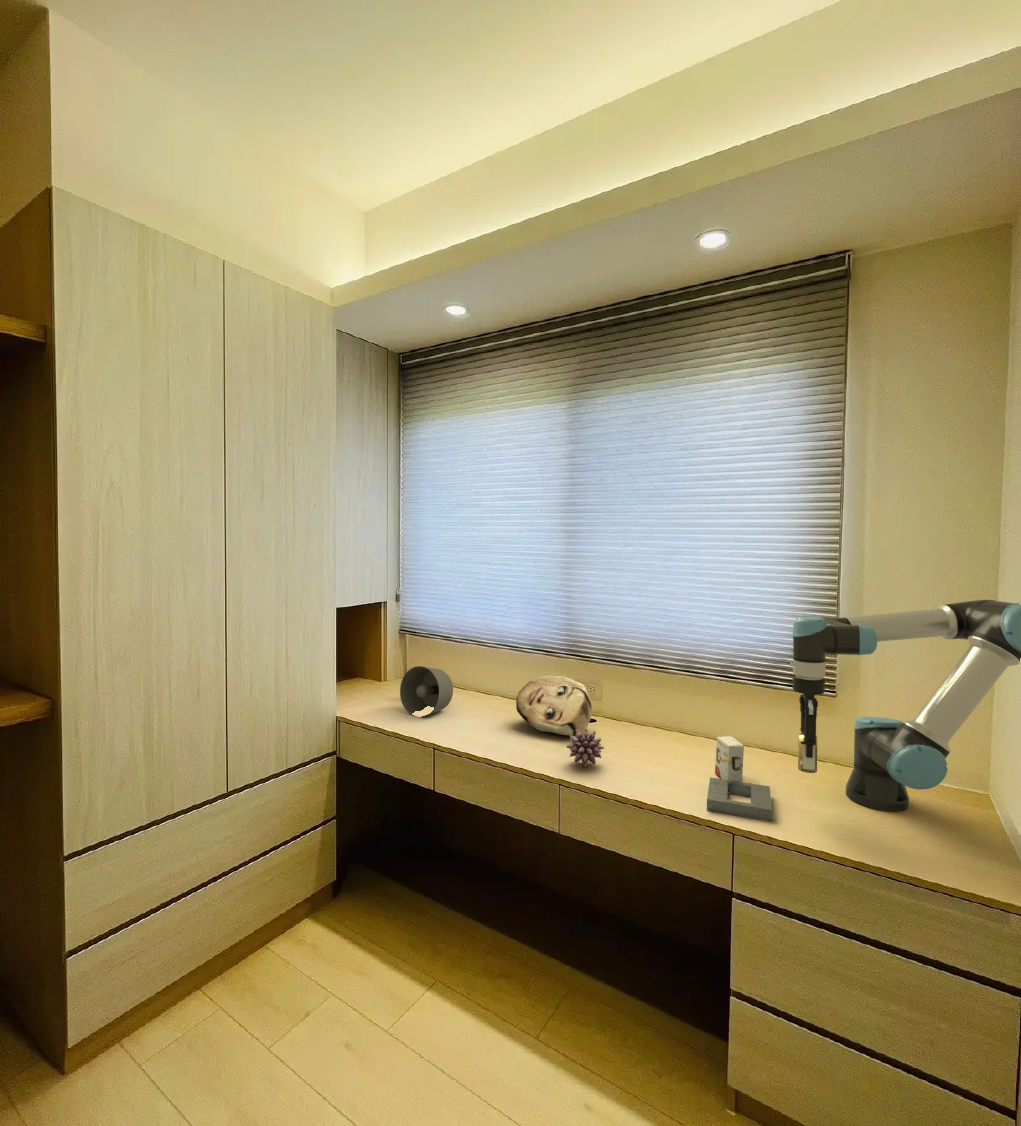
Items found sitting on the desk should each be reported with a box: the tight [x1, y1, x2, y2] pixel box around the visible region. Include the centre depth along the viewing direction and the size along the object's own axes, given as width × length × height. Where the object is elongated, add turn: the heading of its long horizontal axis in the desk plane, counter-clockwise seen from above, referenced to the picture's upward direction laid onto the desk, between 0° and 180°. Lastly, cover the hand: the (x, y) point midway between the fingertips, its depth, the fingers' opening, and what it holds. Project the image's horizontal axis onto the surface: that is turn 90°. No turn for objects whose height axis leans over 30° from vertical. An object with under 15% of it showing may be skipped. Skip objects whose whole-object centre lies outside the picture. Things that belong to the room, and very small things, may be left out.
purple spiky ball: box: [566, 727, 605, 768], centre depth 187 cm, size 12×12×12 cm
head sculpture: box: [515, 674, 593, 736], centre depth 225 cm, size 23×17×28 cm
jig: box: [706, 777, 773, 822], centre depth 161 cm, size 16×16×3 cm
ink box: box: [714, 735, 745, 782], centre depth 178 cm, size 9×5×12 cm, turn 6°
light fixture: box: [399, 665, 454, 718], centre depth 250 cm, size 20×25×27 cm
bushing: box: [797, 732, 818, 774], centre depth 153 cm, size 4×4×9 cm
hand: (807, 765), depth 153 cm, fingers closed on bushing, 4 cm apart
